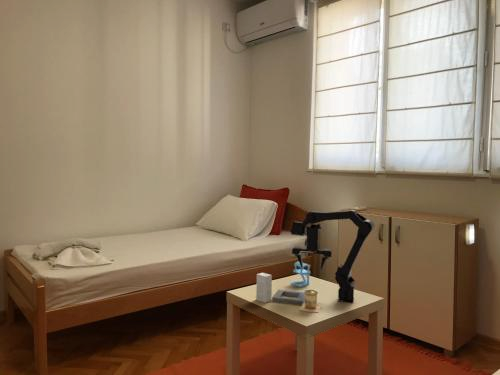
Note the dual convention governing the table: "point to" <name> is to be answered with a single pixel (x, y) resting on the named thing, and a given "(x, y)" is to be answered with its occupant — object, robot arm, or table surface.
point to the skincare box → (264, 287)
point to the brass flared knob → (310, 299)
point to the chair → (302, 274)
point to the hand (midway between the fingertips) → (311, 269)
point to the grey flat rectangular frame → (279, 298)
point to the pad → (310, 310)
